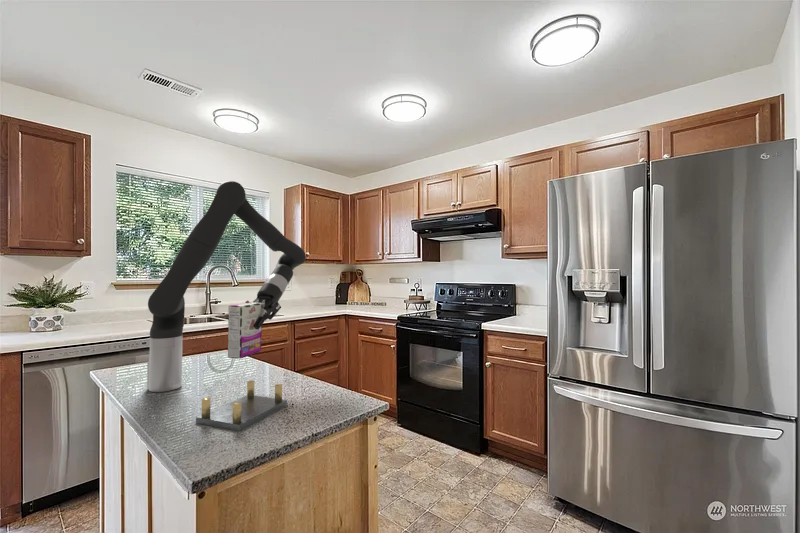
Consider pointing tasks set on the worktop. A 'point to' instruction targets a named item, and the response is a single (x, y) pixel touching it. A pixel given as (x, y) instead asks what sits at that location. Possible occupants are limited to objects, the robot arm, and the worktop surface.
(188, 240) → the robot arm
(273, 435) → the worktop surface
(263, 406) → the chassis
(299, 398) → the worktop surface
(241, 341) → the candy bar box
